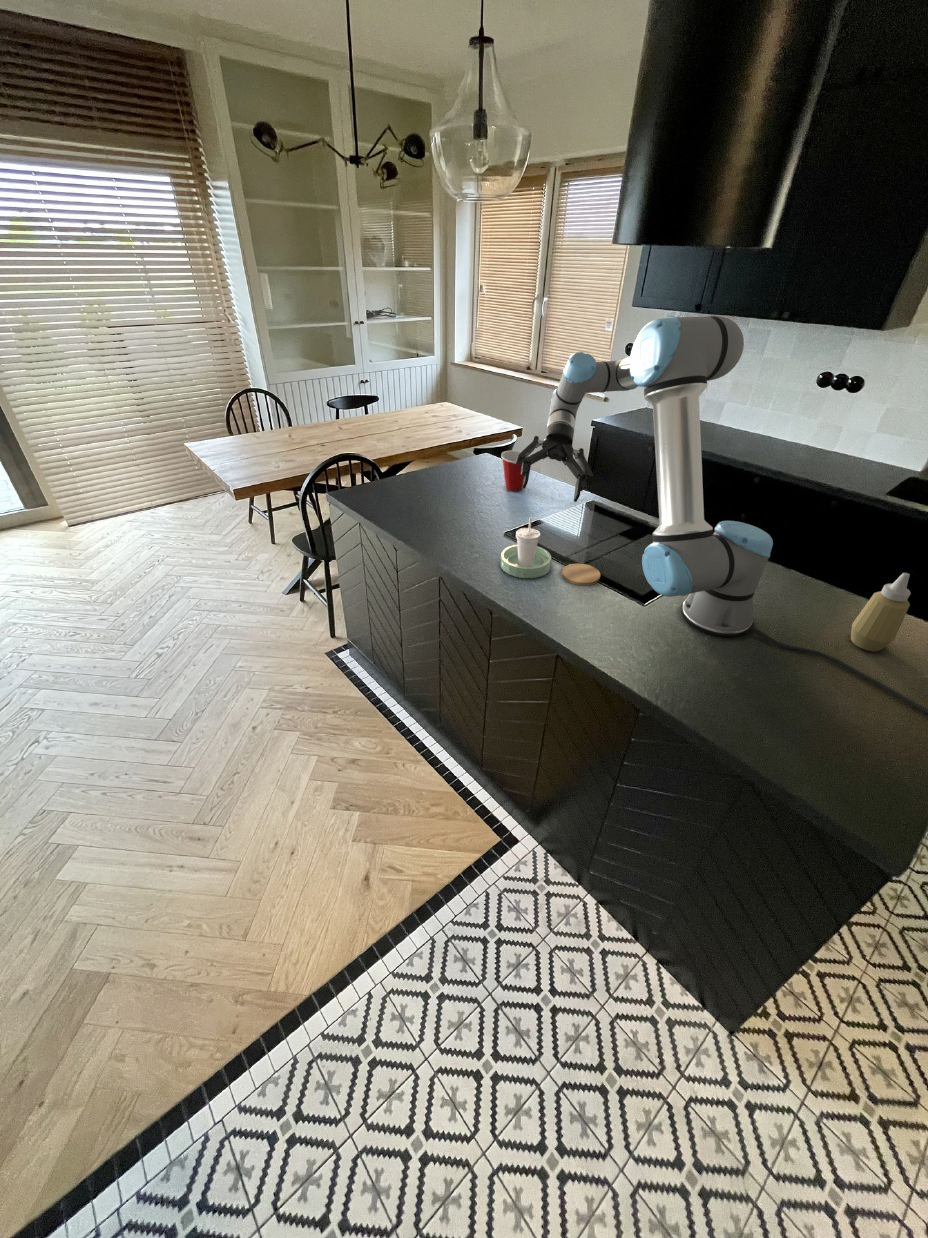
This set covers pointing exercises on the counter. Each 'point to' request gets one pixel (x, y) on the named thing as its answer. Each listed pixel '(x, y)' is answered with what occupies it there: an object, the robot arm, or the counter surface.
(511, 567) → the bowl
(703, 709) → the counter surface
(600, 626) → the counter surface
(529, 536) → the smoothie
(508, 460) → the plastic cup
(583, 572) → the coaster
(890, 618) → the squeeze bottle
